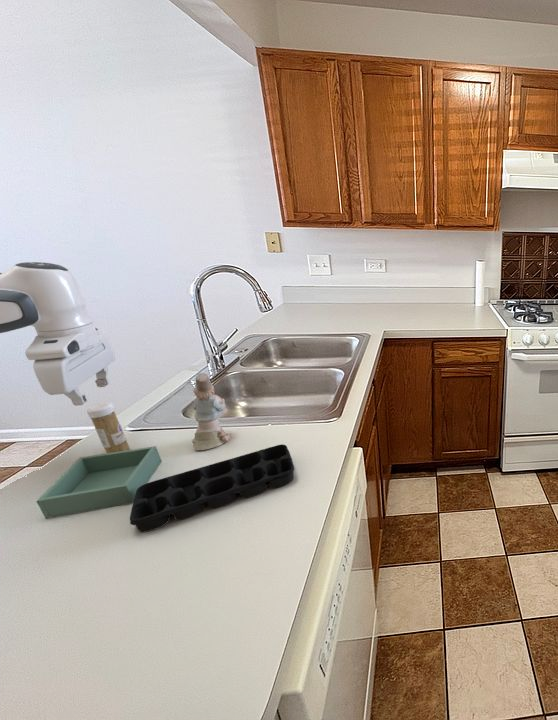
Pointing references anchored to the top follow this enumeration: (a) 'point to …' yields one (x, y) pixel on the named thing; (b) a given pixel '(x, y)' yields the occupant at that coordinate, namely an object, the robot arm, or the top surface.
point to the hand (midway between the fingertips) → (92, 394)
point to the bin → (100, 482)
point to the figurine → (208, 415)
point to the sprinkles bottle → (108, 427)
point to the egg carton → (210, 486)
